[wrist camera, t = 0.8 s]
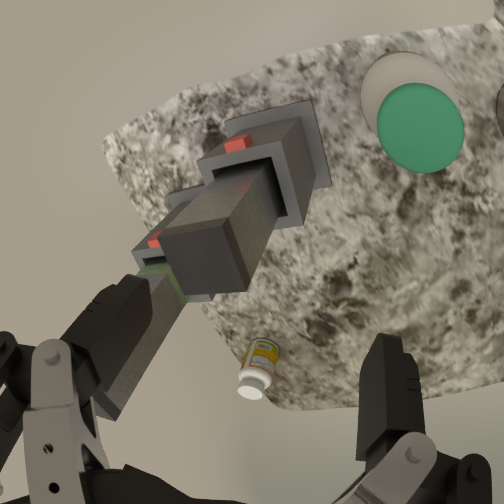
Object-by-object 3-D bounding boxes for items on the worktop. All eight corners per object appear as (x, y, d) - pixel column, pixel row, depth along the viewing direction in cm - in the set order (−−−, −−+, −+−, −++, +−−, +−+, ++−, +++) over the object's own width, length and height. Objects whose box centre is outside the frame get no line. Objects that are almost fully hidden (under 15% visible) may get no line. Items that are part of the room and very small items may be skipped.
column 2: (290, 132, 33) (221, 225, 16) (299, 166, 35) (246, 291, 17) (255, 140, 35) (155, 237, 17) (265, 173, 37) (184, 295, 19)
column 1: (201, 228, 36) (84, 388, 18) (213, 259, 37) (116, 421, 20) (171, 234, 37) (53, 379, 19) (184, 263, 39) (83, 411, 21)
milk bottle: (439, 121, 28) (487, 208, 13) (371, 120, 31) (351, 201, 17) (434, 51, 24) (492, 59, 9) (362, 51, 27) (333, 55, 13)
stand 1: (237, 176, 39) (193, 226, 28) (259, 246, 44) (229, 311, 33) (170, 192, 43) (115, 241, 32) (195, 254, 47) (154, 313, 37)
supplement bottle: (260, 360, 57) (246, 404, 49) (243, 341, 55) (226, 385, 47) (285, 354, 54) (273, 400, 46) (269, 334, 52) (254, 381, 45)
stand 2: (311, 99, 32) (295, 116, 21) (331, 183, 36) (325, 239, 26) (226, 120, 35) (174, 149, 25) (251, 196, 40) (214, 253, 29)
